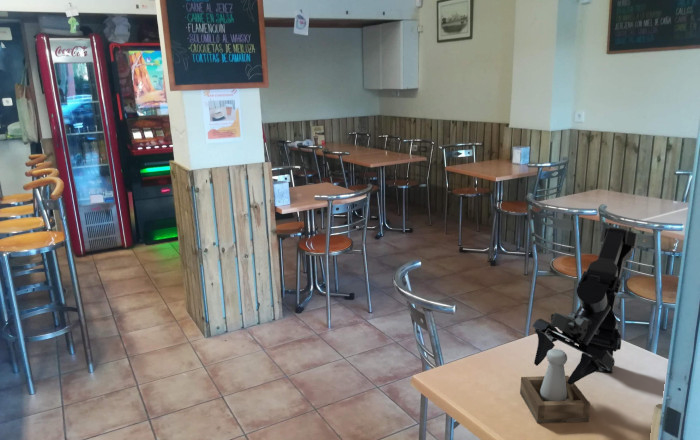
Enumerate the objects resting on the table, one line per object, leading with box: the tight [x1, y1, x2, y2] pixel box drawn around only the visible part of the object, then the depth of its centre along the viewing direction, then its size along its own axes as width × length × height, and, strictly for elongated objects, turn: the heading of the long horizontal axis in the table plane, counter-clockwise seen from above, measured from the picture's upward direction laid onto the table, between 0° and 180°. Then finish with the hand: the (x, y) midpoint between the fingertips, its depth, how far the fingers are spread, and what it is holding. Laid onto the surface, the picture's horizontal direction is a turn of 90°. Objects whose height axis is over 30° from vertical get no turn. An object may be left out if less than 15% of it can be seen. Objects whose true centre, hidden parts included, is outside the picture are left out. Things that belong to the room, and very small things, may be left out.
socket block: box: [519, 375, 591, 424], centre depth 120 cm, size 11×11×4 cm
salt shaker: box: [540, 348, 568, 401], centre depth 119 cm, size 6×6×13 cm
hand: (551, 373), depth 117 cm, fingers open, 9 cm apart
